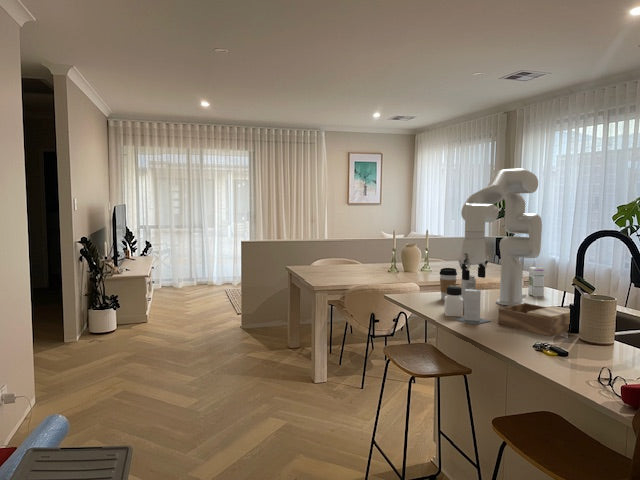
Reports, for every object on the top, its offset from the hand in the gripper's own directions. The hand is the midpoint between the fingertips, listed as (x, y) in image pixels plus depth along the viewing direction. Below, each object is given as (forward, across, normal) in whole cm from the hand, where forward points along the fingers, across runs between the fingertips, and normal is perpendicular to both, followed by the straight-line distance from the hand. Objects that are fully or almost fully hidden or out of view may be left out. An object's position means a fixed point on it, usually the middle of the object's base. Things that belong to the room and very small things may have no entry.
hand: (473, 278), depth 188 cm
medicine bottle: (+17, -1, -11) cm, 20 cm away
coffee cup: (+18, -24, -34) cm, 45 cm away
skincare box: (+17, +1, 0) cm, 17 cm away
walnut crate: (+17, -13, +19) cm, 29 cm away
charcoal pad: (+17, +1, 0) cm, 17 cm away
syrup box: (+19, -70, -16) cm, 74 cm away
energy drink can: (+18, -14, -14) cm, 26 cm away
